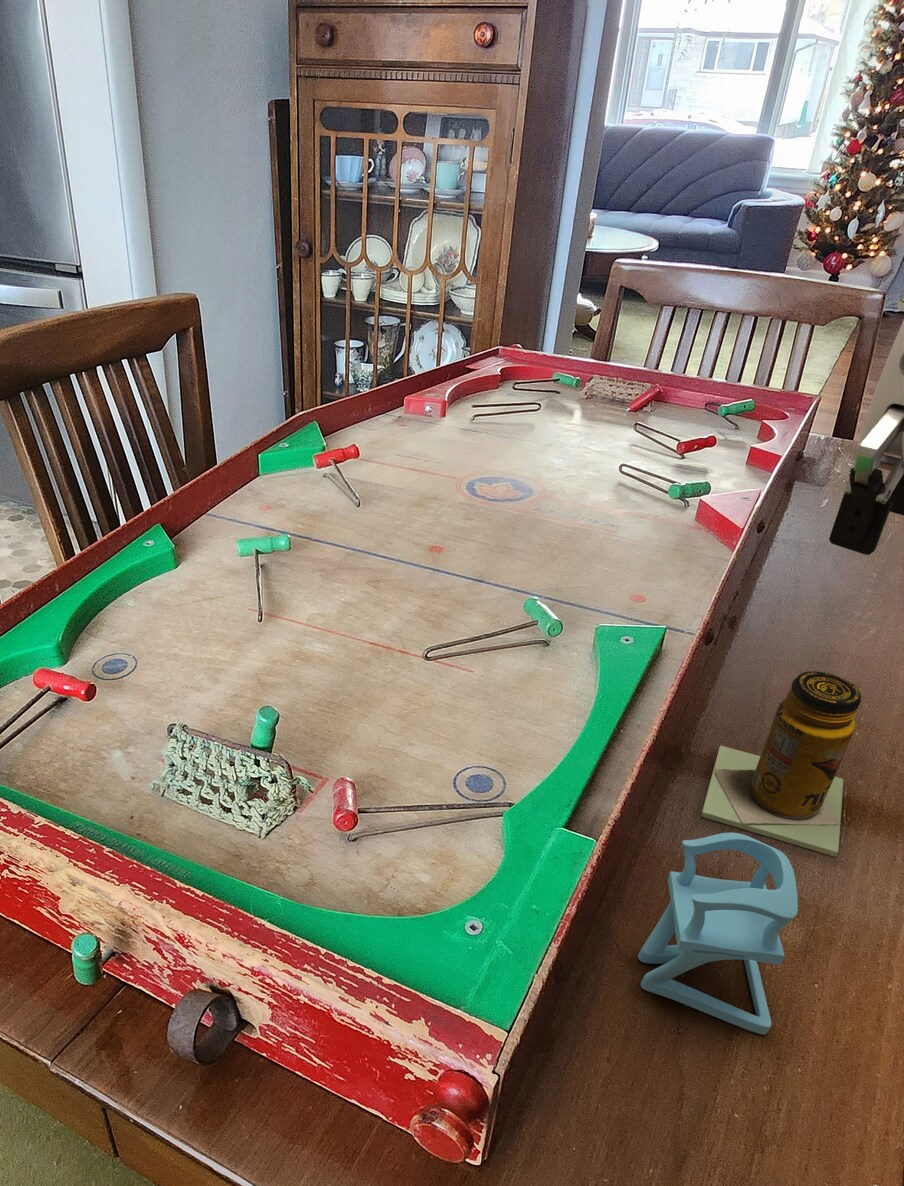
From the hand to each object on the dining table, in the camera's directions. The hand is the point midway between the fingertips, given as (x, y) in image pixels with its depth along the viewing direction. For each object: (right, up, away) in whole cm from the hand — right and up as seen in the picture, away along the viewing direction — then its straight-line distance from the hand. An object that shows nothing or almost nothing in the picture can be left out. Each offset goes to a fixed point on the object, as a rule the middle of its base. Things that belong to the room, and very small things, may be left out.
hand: (877, 530), depth 70 cm
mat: (-3, -22, +11) cm, 25 cm away
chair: (-16, -33, -5) cm, 37 cm away
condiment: (-3, -22, +11) cm, 24 cm away
